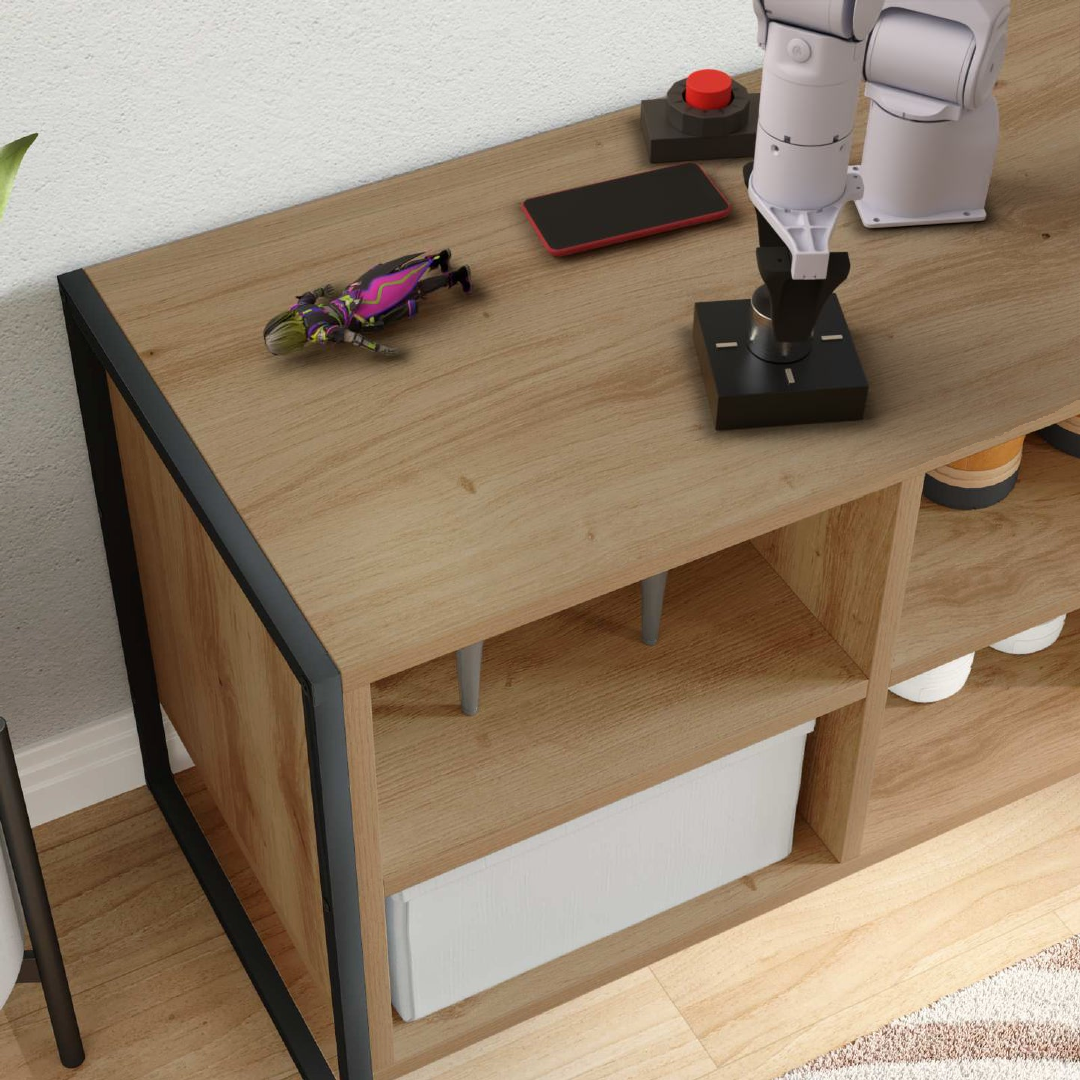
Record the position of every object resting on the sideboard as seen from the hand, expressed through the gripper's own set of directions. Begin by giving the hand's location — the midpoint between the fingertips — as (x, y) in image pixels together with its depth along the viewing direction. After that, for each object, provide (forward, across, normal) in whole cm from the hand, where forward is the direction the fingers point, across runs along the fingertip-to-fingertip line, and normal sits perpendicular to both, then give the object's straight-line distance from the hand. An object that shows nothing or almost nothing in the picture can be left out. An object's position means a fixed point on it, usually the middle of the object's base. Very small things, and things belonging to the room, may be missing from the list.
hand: (784, 301), depth 104 cm
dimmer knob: (+3, 0, 0) cm, 3 cm away
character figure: (+7, +7, +29) cm, 30 cm away
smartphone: (+6, +19, +10) cm, 22 cm away
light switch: (+6, +30, +3) cm, 31 cm away
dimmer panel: (+6, 0, 0) cm, 6 cm away
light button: (+3, +30, +3) cm, 30 cm away
